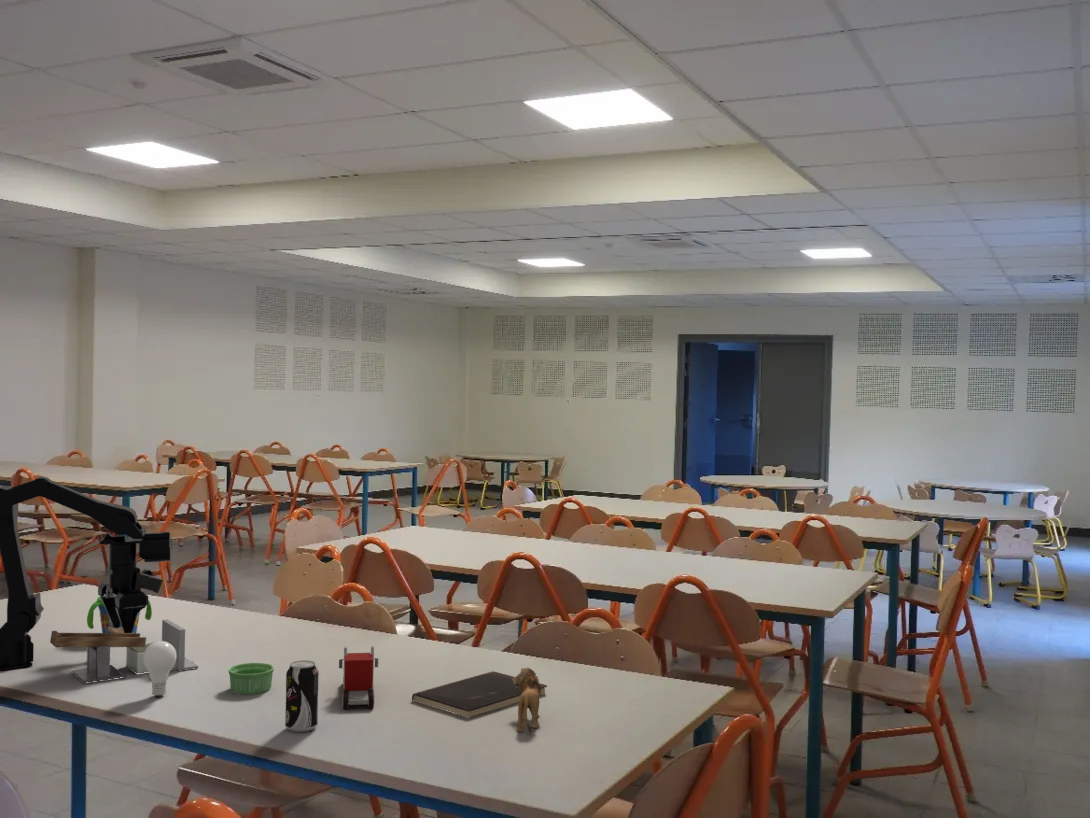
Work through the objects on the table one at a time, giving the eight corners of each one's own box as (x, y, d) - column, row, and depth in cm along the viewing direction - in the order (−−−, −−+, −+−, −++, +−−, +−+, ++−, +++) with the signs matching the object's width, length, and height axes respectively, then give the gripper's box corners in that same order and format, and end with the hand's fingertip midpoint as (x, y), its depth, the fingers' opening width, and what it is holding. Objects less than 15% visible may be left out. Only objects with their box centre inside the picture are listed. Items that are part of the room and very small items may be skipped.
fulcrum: (83, 684, 209) (84, 649, 209) (72, 673, 217) (72, 640, 217) (124, 678, 214) (124, 644, 214) (111, 667, 222) (111, 635, 221)
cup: (137, 675, 216) (137, 654, 216) (126, 666, 223) (126, 646, 223) (176, 669, 221) (176, 648, 221) (164, 661, 228) (164, 641, 228)
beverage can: (279, 728, 184) (280, 662, 184) (306, 721, 188) (308, 657, 188) (295, 736, 180) (297, 669, 180) (323, 729, 184) (324, 663, 184)
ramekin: (281, 685, 211) (282, 664, 211) (258, 697, 202) (258, 675, 202) (243, 681, 213) (244, 660, 213) (219, 693, 205) (219, 671, 205)
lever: (56, 650, 207) (58, 636, 207) (35, 631, 222) (37, 618, 222) (145, 649, 218) (147, 636, 218) (120, 632, 233) (122, 620, 233)
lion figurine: (511, 711, 197) (512, 665, 197) (538, 710, 198) (539, 665, 198) (517, 736, 182) (518, 686, 182) (546, 735, 183) (547, 686, 183)
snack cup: (142, 629, 258) (143, 589, 257) (159, 637, 250) (160, 596, 250) (78, 638, 247) (79, 597, 247) (94, 646, 239) (95, 604, 239)
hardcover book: (546, 696, 209) (547, 685, 209) (468, 722, 192) (468, 709, 192) (490, 681, 219) (491, 670, 219) (411, 704, 202) (411, 692, 202)
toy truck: (377, 683, 215) (377, 636, 215) (379, 711, 196) (380, 660, 196) (338, 684, 214) (339, 637, 213) (337, 712, 194) (338, 661, 194)
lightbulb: (140, 702, 198) (141, 646, 197) (143, 692, 204) (144, 638, 204) (174, 700, 199) (175, 644, 199) (177, 690, 205) (178, 637, 205)
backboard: (178, 671, 220) (179, 630, 220) (161, 659, 229) (162, 619, 229) (198, 668, 222) (198, 627, 222) (180, 656, 232) (180, 617, 232)
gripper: (172, 565, 225) (171, 635, 226) (147, 554, 240) (146, 619, 240) (120, 570, 219) (119, 642, 219) (97, 558, 233) (97, 625, 234)
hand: (122, 631), depth 228 cm, fingers open, 9 cm apart
